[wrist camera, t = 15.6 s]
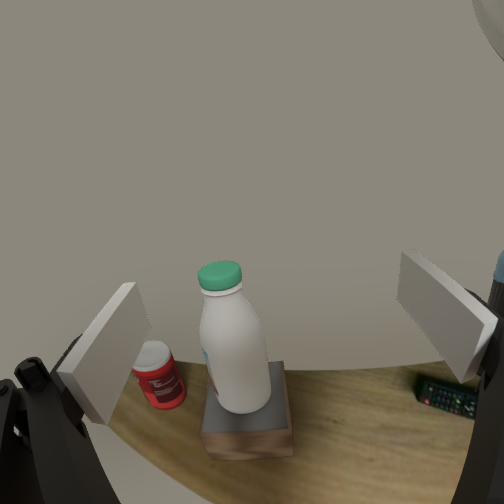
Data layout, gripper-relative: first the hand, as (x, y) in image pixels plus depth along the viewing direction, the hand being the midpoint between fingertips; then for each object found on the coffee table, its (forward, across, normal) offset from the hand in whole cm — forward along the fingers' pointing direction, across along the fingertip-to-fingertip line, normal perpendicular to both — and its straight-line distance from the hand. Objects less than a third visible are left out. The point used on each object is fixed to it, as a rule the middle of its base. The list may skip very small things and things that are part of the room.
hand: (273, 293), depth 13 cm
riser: (+16, -5, -33) cm, 37 cm away
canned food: (+23, -21, -33) cm, 45 cm away
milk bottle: (+16, -5, -25) cm, 30 cm away
